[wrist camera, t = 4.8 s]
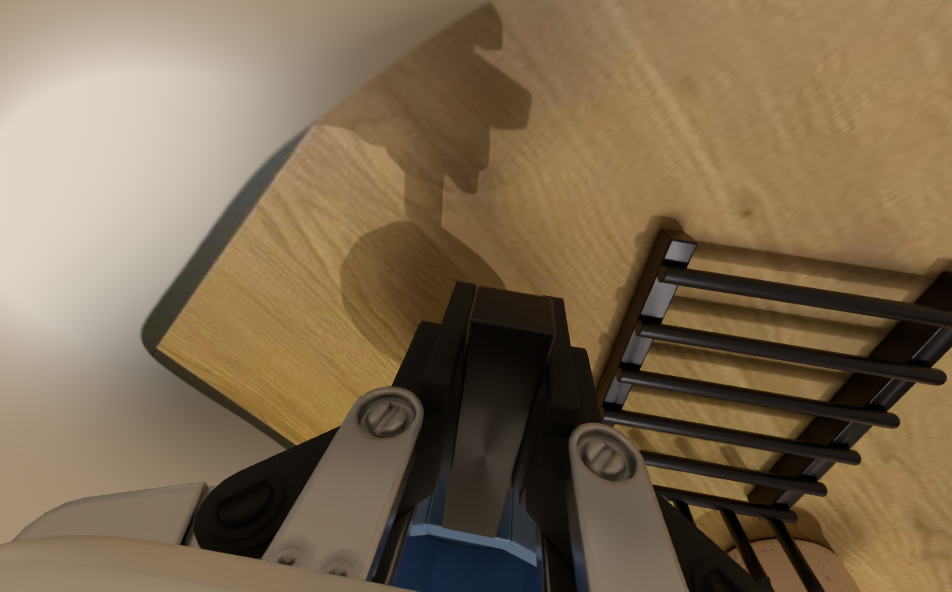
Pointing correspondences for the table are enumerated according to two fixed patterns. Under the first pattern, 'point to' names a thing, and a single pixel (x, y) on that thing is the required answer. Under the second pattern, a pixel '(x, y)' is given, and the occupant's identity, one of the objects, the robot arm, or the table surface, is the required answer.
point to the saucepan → (486, 457)
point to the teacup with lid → (784, 576)
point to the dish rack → (823, 443)
